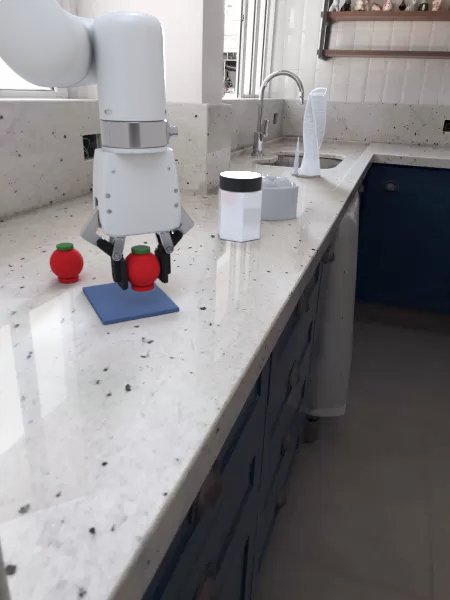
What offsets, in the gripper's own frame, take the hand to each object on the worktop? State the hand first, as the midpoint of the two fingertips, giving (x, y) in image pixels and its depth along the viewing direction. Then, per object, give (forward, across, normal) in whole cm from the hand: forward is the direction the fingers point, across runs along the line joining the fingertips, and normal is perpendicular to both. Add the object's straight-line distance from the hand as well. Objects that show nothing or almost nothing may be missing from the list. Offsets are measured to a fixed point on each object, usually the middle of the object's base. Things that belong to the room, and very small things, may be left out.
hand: (142, 281), depth 63 cm
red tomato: (+3, +7, -14) cm, 16 cm away
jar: (+4, -28, -25) cm, 37 cm away
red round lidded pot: (+1, 0, 0) cm, 1 cm away
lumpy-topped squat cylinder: (+4, -43, -38) cm, 57 cm away
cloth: (+3, +1, -3) cm, 5 cm away
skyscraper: (+4, -86, -81) cm, 118 cm away
